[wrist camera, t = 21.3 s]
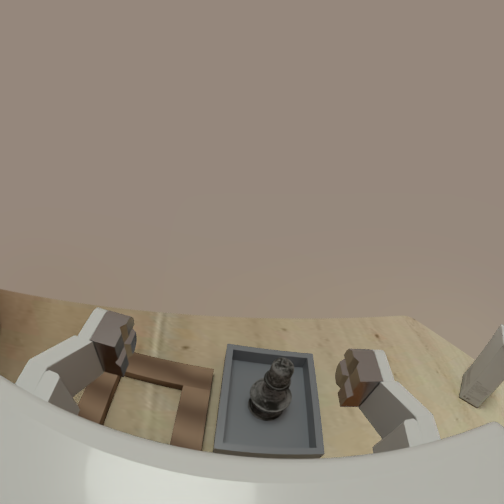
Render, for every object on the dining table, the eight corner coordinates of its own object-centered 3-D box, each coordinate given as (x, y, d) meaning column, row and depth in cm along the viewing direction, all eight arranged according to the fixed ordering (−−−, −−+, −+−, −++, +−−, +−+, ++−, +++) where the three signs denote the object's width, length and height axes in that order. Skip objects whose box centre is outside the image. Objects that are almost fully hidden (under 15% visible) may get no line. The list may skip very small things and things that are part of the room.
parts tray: (315, 461, 30) (324, 453, 28) (212, 455, 29) (213, 448, 27) (306, 366, 45) (312, 353, 44) (225, 356, 45) (227, 343, 43)
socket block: (197, 479, 26) (197, 477, 25) (69, 440, 25) (65, 436, 24) (213, 374, 41) (213, 369, 40) (108, 350, 40) (106, 344, 40)
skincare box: (476, 409, 36) (524, 358, 28) (456, 396, 40) (503, 344, 32) (480, 384, 42) (521, 335, 34) (462, 372, 45) (501, 321, 38)
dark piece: (272, 384, 40) (292, 334, 34) (292, 412, 36) (320, 367, 30) (238, 397, 37) (252, 348, 31) (258, 428, 33) (279, 386, 27)
